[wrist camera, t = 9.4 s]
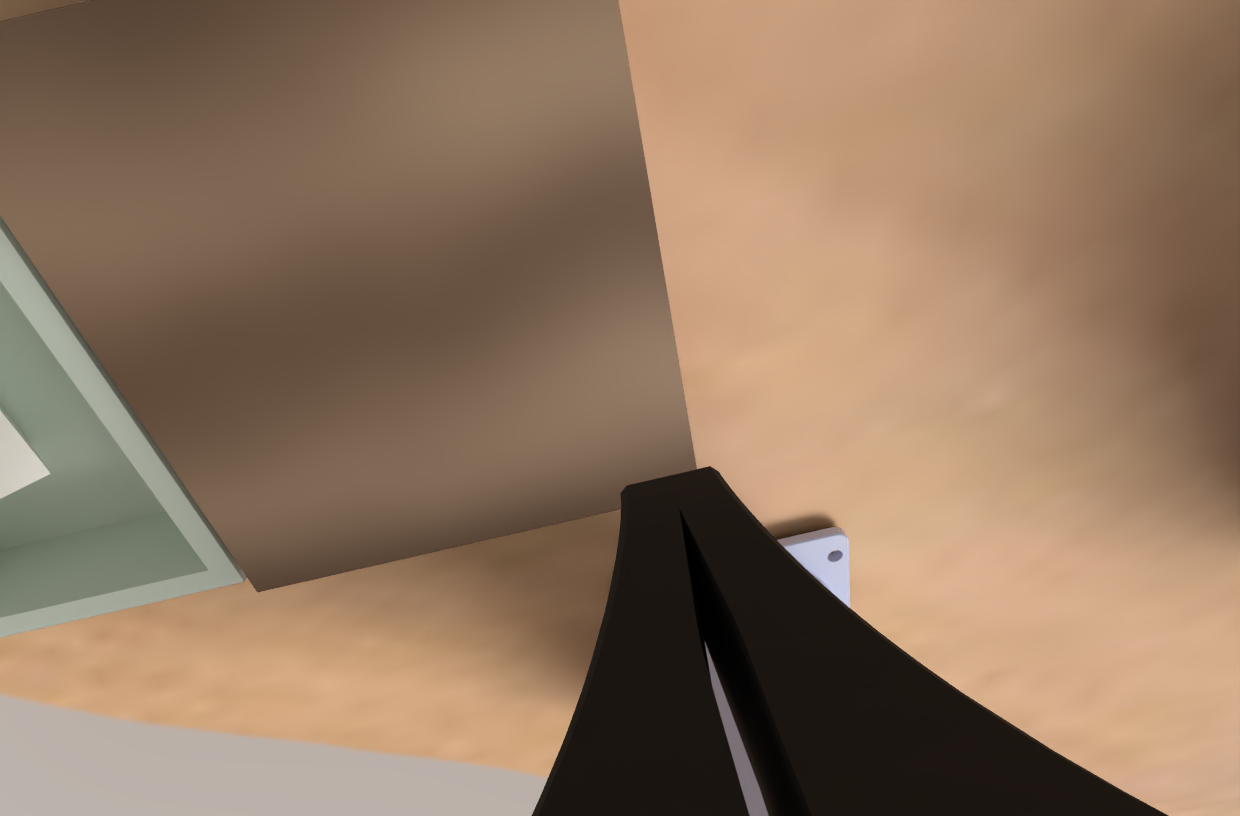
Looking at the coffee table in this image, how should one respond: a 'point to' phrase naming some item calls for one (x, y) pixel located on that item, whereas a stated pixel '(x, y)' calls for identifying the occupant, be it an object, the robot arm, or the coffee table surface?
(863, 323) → the coffee table surface
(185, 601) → the coffee table surface
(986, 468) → the coffee table surface
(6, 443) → the cream block
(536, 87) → the brown flat block
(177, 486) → the sage box
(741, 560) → the robot arm
